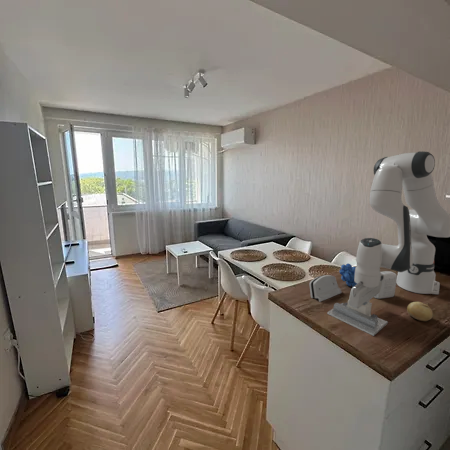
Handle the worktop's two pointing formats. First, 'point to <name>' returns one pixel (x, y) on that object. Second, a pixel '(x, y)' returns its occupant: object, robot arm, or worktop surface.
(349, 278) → the grapes
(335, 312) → the rail base
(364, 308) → the block
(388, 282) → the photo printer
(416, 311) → the onion
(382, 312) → the worktop surface
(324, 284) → the white toaster
